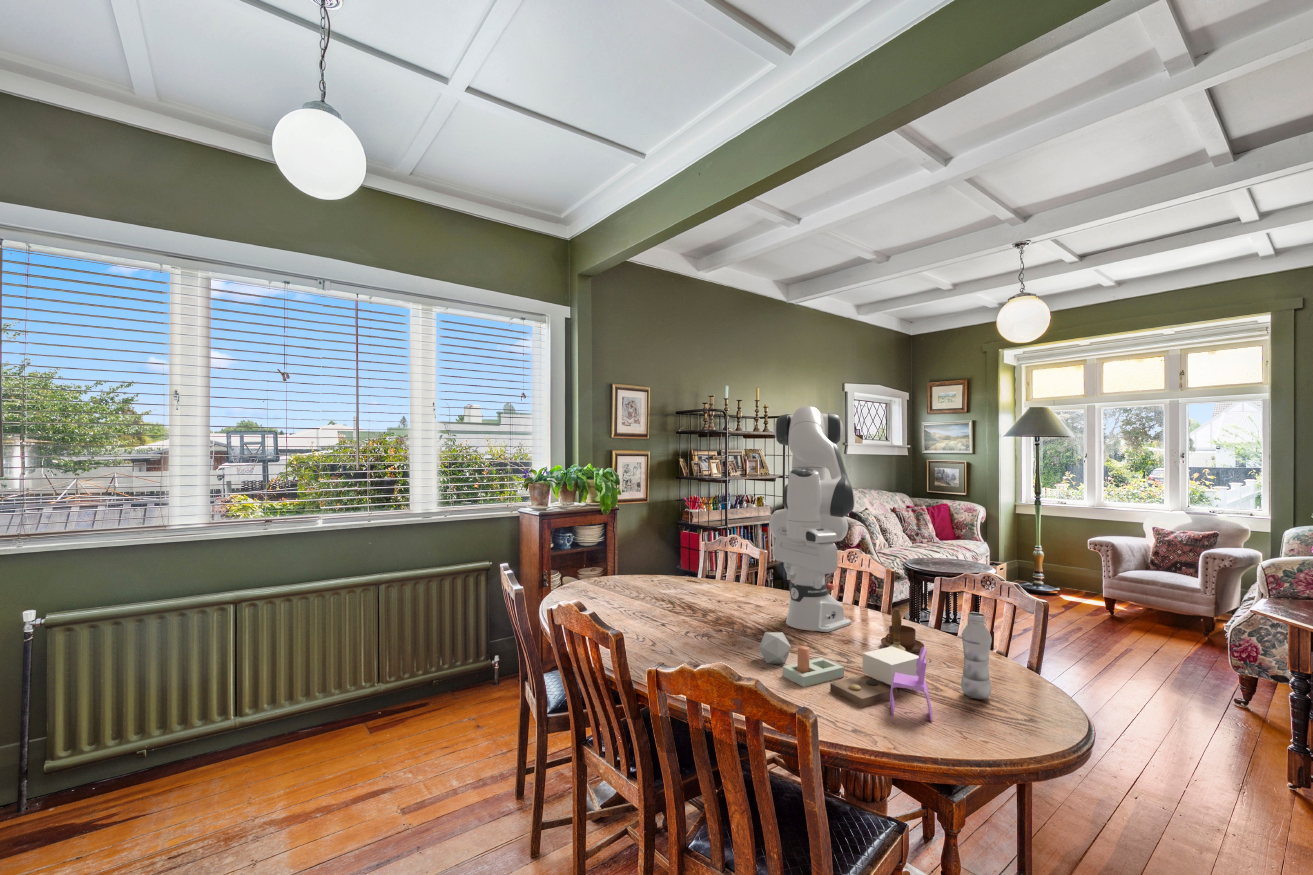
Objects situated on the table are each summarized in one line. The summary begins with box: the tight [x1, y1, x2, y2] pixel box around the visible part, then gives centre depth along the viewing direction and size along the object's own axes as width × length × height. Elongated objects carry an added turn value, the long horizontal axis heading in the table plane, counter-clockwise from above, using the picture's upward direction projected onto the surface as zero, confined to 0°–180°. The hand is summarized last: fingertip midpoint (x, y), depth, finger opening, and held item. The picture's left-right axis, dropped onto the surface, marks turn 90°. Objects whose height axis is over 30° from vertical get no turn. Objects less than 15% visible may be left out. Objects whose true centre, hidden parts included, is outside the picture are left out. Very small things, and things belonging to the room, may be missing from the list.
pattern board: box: [829, 673, 898, 708], centre depth 143 cm, size 12×10×2 cm
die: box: [758, 631, 792, 664], centre depth 165 cm, size 8×9×10 cm
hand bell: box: [889, 607, 906, 651], centre depth 161 cm, size 8×8×16 cm
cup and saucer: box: [880, 624, 925, 654], centre depth 176 cm, size 12×12×6 cm
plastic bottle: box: [960, 611, 993, 700], centre depth 142 cm, size 6×7×20 cm
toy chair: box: [889, 646, 934, 723], centre depth 134 cm, size 8×9×15 cm
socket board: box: [782, 656, 845, 688], centre depth 154 cm, size 14×8×2 cm, turn 119°
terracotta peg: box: [796, 645, 810, 674], centre depth 152 cm, size 3×3×8 cm
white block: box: [862, 646, 919, 686], centre depth 148 cm, size 11×9×5 cm
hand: (803, 584), depth 153 cm, fingers open, 8 cm apart
